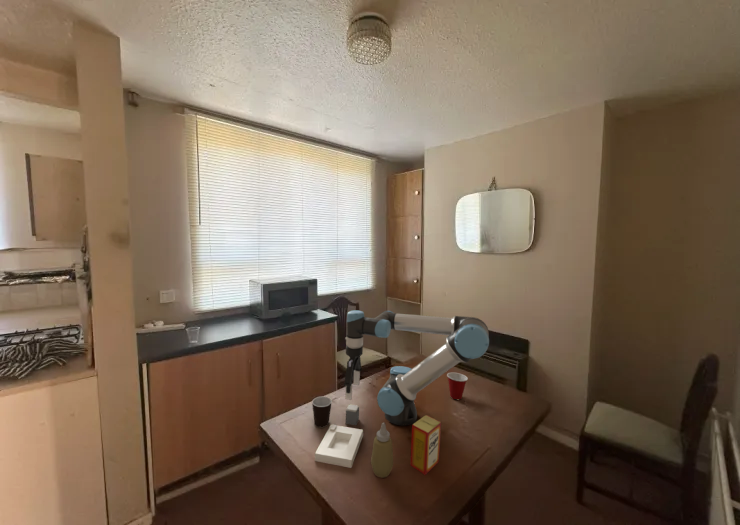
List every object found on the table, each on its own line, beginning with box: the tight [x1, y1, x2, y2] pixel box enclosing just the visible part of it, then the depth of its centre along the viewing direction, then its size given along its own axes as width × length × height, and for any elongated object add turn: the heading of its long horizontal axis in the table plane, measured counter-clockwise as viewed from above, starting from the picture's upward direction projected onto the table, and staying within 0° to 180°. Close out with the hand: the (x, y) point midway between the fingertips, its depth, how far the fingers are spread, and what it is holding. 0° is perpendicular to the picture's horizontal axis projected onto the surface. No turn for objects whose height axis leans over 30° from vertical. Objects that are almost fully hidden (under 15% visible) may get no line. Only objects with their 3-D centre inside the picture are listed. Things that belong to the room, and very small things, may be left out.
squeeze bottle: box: [370, 422, 394, 479], centre depth 107 cm, size 8×8×18 cm
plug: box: [345, 404, 360, 426], centre depth 137 cm, size 5×4×7 cm
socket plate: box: [314, 424, 364, 469], centre depth 119 cm, size 14×18×4 cm
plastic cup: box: [446, 372, 468, 400], centre depth 161 cm, size 11×11×12 cm
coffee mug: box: [311, 395, 333, 428], centre depth 136 cm, size 12×9×10 cm
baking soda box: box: [409, 414, 442, 476], centre depth 112 cm, size 10×6×16 cm
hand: (352, 391), depth 136 cm, fingers open, 13 cm apart
